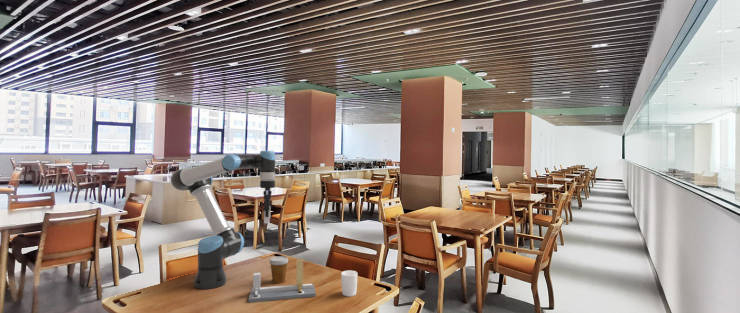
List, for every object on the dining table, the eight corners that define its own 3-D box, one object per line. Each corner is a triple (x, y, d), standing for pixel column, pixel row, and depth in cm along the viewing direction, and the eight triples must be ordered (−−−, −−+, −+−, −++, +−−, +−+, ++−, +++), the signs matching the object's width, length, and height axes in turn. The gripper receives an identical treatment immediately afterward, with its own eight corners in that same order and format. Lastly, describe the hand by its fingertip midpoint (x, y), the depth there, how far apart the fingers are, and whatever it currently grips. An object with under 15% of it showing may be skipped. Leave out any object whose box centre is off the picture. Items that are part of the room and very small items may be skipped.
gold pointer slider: (297, 292, 168) (297, 264, 168) (296, 286, 176) (296, 259, 175) (303, 291, 169) (303, 263, 169) (302, 285, 176) (302, 259, 176)
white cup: (344, 298, 167) (345, 276, 167) (338, 292, 174) (338, 271, 174) (360, 295, 170) (360, 274, 170) (353, 289, 177) (353, 269, 177)
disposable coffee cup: (290, 278, 192) (290, 256, 192) (284, 285, 182) (284, 261, 182) (273, 277, 193) (273, 255, 193) (266, 284, 183) (266, 261, 183)
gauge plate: (248, 302, 161) (248, 280, 161) (250, 292, 173) (250, 271, 173) (315, 296, 168) (315, 275, 168) (313, 287, 180) (313, 267, 180)
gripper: (274, 182, 176) (274, 225, 177) (275, 178, 200) (275, 216, 201) (258, 182, 174) (258, 225, 175) (261, 178, 199) (261, 216, 199)
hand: (267, 220), depth 188 cm, fingers open, 13 cm apart
